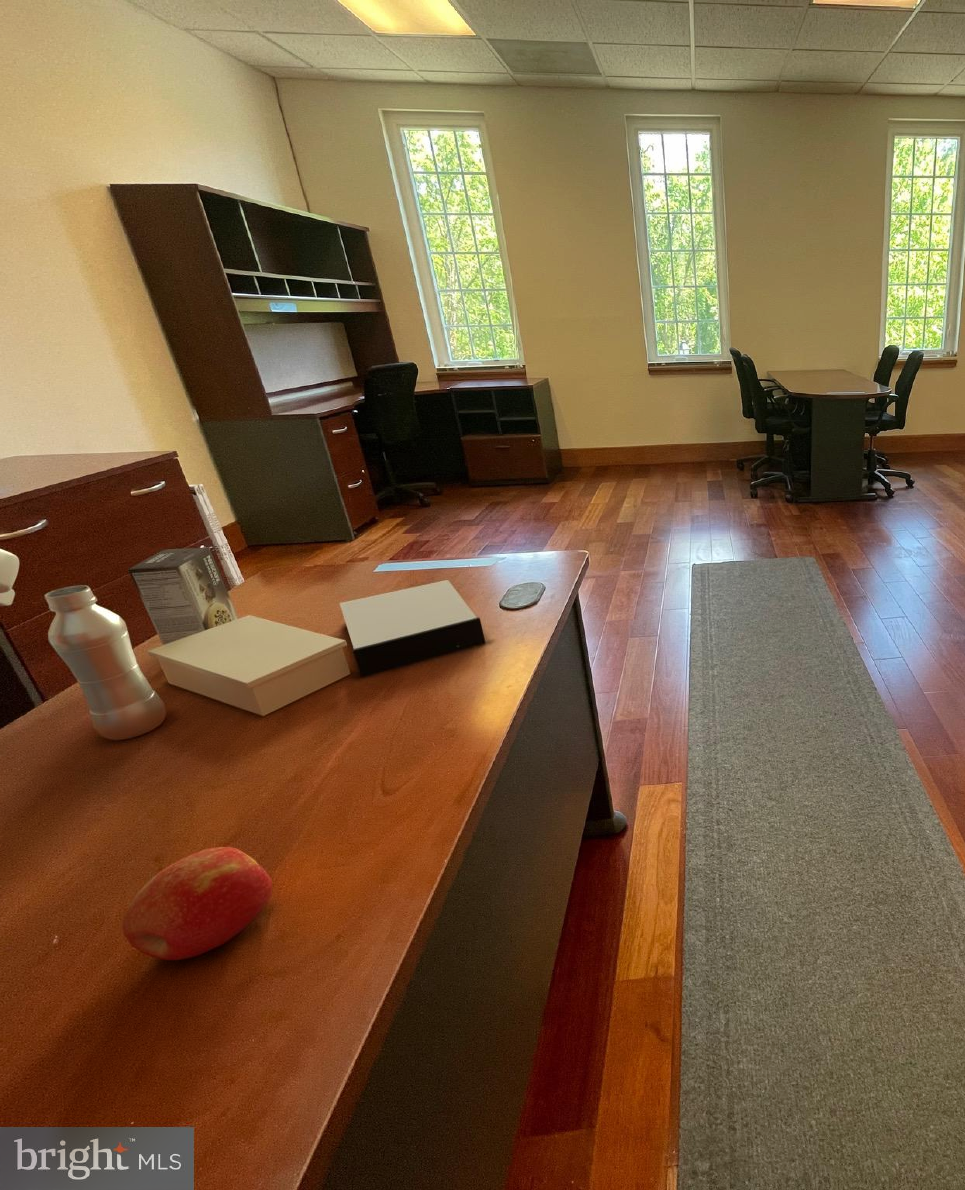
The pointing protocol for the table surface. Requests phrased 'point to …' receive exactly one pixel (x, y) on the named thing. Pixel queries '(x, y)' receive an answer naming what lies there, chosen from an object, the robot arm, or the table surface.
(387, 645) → the disc drive
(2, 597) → the robot arm
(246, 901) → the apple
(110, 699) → the plastic bottle
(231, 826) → the table surface
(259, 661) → the flat beige lidded box
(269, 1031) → the table surface
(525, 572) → the table surface
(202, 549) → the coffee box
